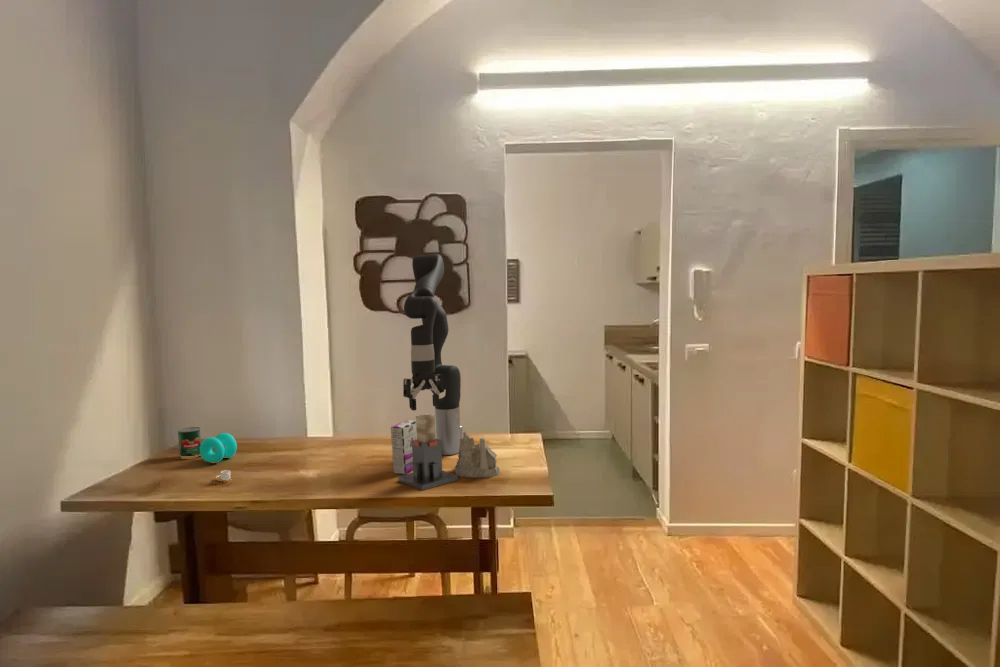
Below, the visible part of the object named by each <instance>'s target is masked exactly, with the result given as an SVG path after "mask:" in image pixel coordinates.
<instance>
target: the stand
mask: <svg viewBox="0 0 1000 667" xmlns="http://www.w3.org/2000/svg"><path fill="white" fill-rule="evenodd" d="M412 456H413V470H412V472H411V473H410V472H409V473H407V474H401V475H398V476H397V480H398V482H400V483H403V484H405V485H408V486H411V487H412V488H415V489H418V490H420V491H425V490H428V489H429V490H430V489H431V488H435V487H439V486H443V485H447V484H449V483H450V484H451V483H454V482H457V481H459V476H458V475H456V474H454V473H452V472H451V473H450V472H449V471H445V470H443V458H442V456H443V455H442V453H441V440H440V439H436V440H435V441H430V442H426V443H423V442H420V441H417V439H415V440H412Z"/></svg>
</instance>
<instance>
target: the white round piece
mask: <svg viewBox="0 0 1000 667" xmlns="http://www.w3.org/2000/svg"><path fill="white" fill-rule="evenodd" d="M219 476H221V479H222V480H227V481H228V480H229V479H230V478H232V477H231V470H230V469H225V470H221V471H220V474H219V475H215V477H216V478H217V477H219ZM230 480H231V479H230Z"/></svg>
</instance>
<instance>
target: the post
mask: <svg viewBox="0 0 1000 667" xmlns="http://www.w3.org/2000/svg"><path fill="white" fill-rule="evenodd" d="M415 420H416V431H417V441H420V442H423V443H426V442H430V441H435V440H436V419H435V415H434V414H431V413H422V414H417V415H415Z"/></svg>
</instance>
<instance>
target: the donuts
mask: <svg viewBox="0 0 1000 667" xmlns="http://www.w3.org/2000/svg"><path fill="white" fill-rule="evenodd" d="M237 449H238V444H237V441H236V439H235V437H234V436H233V435H232V434H230V433H228V432H221V433H219V434H217V435H216V436H215V437H214V436H209V437H207V438H205V439H204V440H202V441H201V446H200V454H201V458H202V460H203V461H204V462H206V461H208V462H218V463H220V462H221V461H222V460H223V457H231V458H232V457H233V456H235V454H236V453H237V451H238V450H237ZM219 461H220V462H219Z"/></svg>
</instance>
